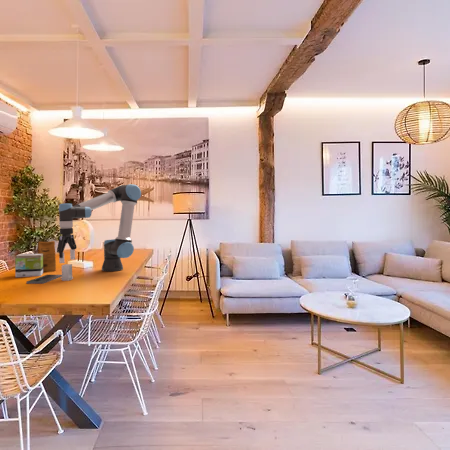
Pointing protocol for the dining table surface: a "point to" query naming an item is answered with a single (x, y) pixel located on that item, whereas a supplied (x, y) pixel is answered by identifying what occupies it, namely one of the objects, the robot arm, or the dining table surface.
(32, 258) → the tea box
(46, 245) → the coffee package
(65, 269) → the block with top tab
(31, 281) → the grey flat frame
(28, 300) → the dining table surface
